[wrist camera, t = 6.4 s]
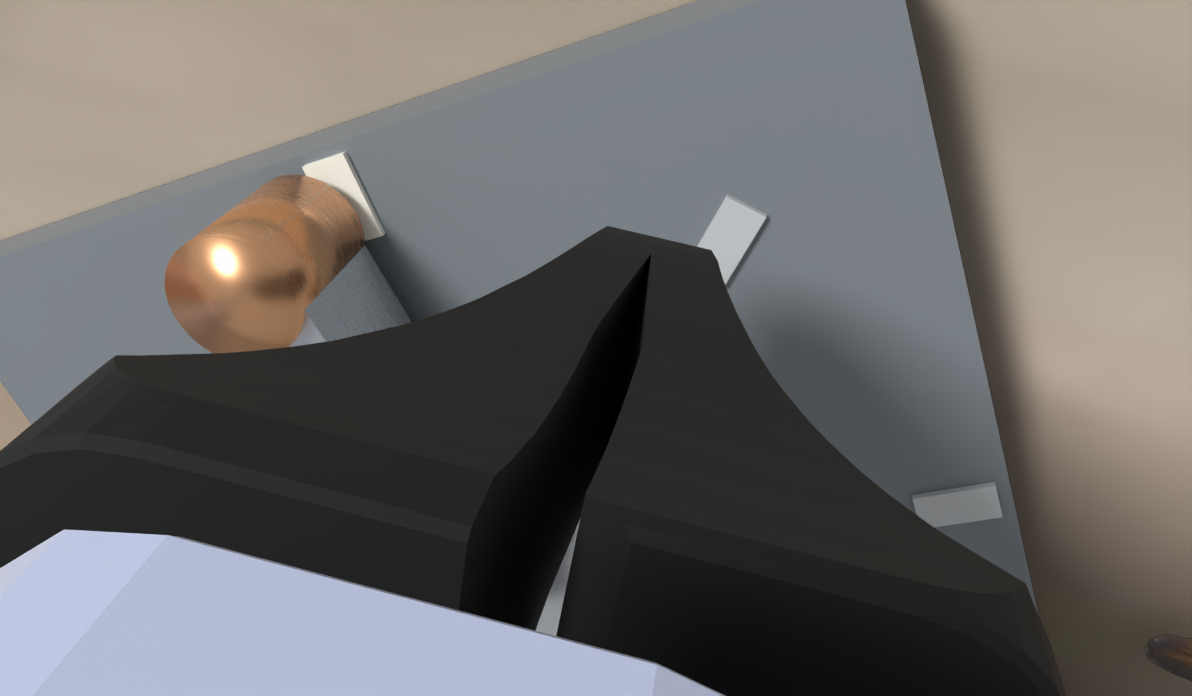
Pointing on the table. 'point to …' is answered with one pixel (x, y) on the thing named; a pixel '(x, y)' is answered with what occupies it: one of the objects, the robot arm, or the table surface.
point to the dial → (292, 287)
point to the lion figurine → (1171, 654)
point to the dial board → (625, 226)
